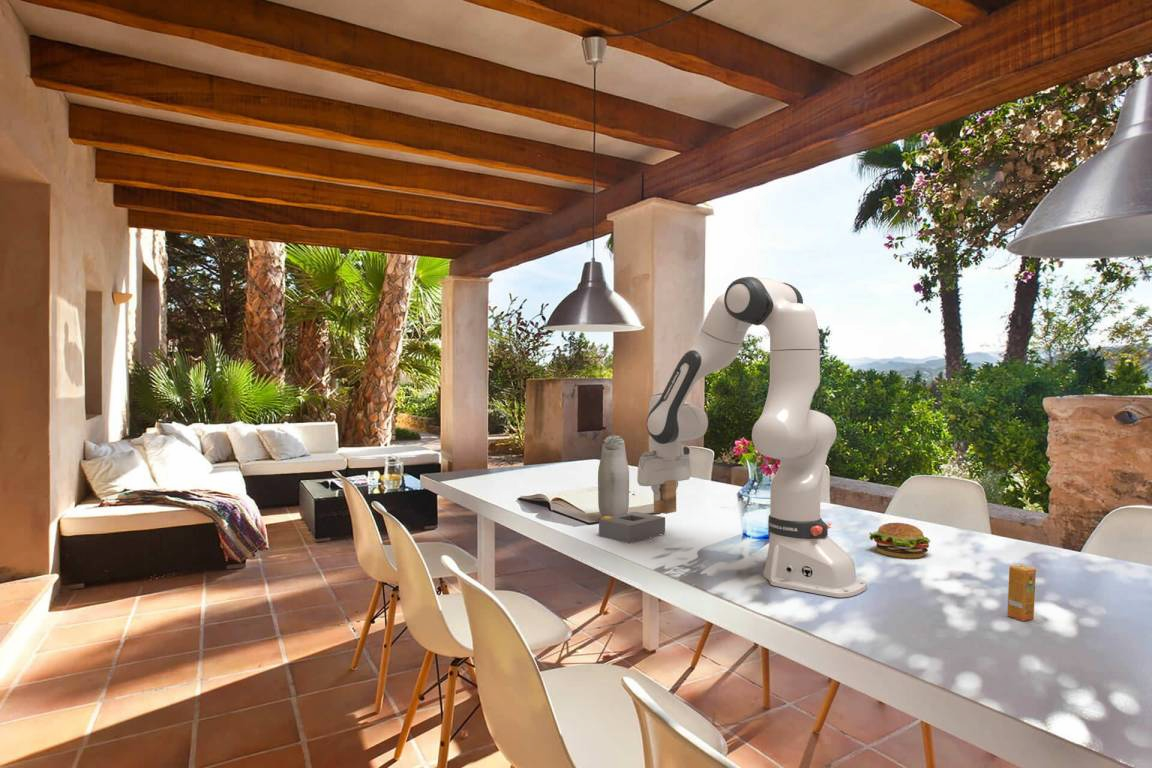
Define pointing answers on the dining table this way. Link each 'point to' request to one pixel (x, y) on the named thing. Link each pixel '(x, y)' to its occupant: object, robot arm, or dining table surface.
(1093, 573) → the dining table surface
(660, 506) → the oak peg
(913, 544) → the food
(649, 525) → the socket block
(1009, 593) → the supplement box
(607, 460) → the gray bottle
